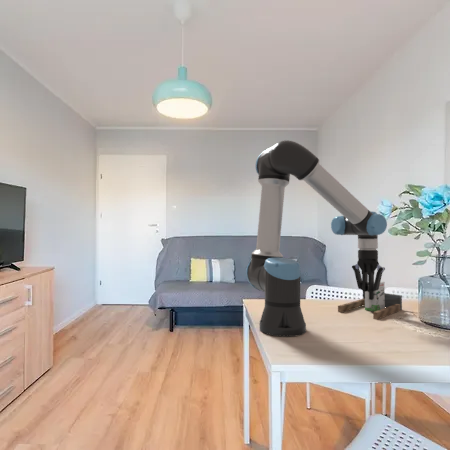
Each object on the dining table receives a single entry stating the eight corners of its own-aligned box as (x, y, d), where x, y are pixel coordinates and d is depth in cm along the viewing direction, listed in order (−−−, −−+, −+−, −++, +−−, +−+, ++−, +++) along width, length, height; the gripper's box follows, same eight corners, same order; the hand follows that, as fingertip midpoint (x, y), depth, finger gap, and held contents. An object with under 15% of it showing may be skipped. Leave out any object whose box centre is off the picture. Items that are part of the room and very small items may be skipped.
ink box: (376, 312, 136) (375, 282, 137) (364, 310, 140) (363, 281, 140) (385, 309, 142) (385, 281, 142) (373, 307, 146) (373, 279, 146)
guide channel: (377, 319, 125) (376, 303, 125) (338, 311, 137) (337, 297, 137) (401, 309, 141) (401, 295, 141) (365, 303, 153) (364, 290, 153)
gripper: (388, 249, 136) (388, 308, 135) (357, 248, 145) (357, 303, 145) (379, 250, 131) (380, 311, 130) (348, 249, 140) (348, 306, 140)
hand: (368, 307), depth 137 cm, fingers closed
